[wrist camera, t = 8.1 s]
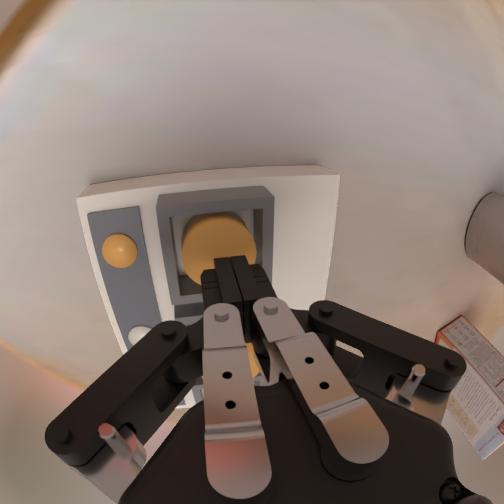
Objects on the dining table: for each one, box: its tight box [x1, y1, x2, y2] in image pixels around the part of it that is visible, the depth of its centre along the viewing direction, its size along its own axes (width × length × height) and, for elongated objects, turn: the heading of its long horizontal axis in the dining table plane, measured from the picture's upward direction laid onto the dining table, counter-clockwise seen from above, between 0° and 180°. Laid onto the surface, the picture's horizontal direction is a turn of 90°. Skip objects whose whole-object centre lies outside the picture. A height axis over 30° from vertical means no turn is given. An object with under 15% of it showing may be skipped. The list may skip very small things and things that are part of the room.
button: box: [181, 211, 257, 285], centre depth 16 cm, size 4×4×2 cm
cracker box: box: [435, 315, 504, 460], centre depth 30 cm, size 14×6×21 cm, turn 16°
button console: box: [76, 165, 340, 409], centre depth 21 cm, size 16×21×5 cm
